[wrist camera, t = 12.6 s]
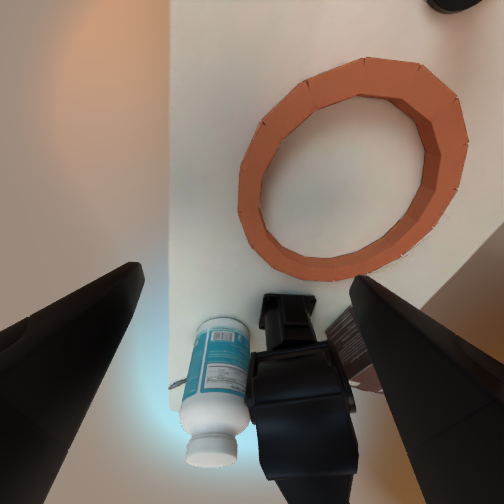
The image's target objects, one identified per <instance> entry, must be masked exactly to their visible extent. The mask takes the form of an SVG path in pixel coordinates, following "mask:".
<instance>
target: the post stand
mask: <svg viewBox="0 0 504 504" xmlns="http://www.w3.org/2000/svg"><path fill="white" fill-rule="evenodd" d="M427 1H428V3H429V4H430V5H431V6H432V7H433V8H434V9H435V10H436V11H438V12H441V13H445V14H453V13H458V12H461V11H464V10H466V9H468V8H470V7H472V6H474V5H476V4H478V3H479V2H481V1H482V0H427Z"/></svg>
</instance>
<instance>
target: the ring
mask: <svg viewBox="0 0 504 504" xmlns="http://www.w3.org/2000/svg"><path fill="white" fill-rule="evenodd" d="M354 96H360V97H369V98H378V99H387V100H389V101H390V102H392V103H393V104H394V105H395V106H397V107H398V108H399V109H400V110H402V111H403V112H404V113H406V114H407V115H408V116H409V117H411V118H412V119H413V120H414V121H415V122H416V125H417V128H418V131H419V134H420V137H421V140H422V142H423V145H424V148H425V151H426V154H425V162H424V169H423V177H422V184H421V186H420V188H419V190H418V192H417V194H416V196H415V198H414V200H413V201H412V203H411V205H410V207H409V209H408V211H407V213H406V215H405V216H404V217H403V218H402V219H401V220H400V221H399V222H398V223H397V224H396V225H395V226H394V227H393V228H392V229H391V230H390V231H389V232H388V233H387V234H386V235H385V236H384V237H383V238H381V239H379V240H377V241H376V242H374V243H372V244H370V245H369V246H367V247H365V248H363V249H362V250H360V251H358V252H355V253H351V254H347V255H343V256H339V257H335V258H331V259H328V258H312V257H304V256H302V255H300V254H297V253H295V252H293V251H291V250H288V249H286V248H284V247H282V246H281V245H280V244H279V243H278V241H277V240H276V239H275V238H274V237H273V236H272V235H271V234H270V233H269V232H268V230H267V229H266V227H265V223H264V220H263V217H262V214H261V211H260V208H259V203H260V194H261V185H262V177H263V175H264V173H265V171H266V169H267V167H268V166H269V164H270V162H271V160H272V158H273V156H274V154H275V152H276V151H277V149H278V147H279V145H280V143H281V141H282V140H283V139H284V138H285V137H286V136H287V135H289V134H290V133H291V132H292V131H293V130H294V129H295V128H297V127H298V126H299V125H300V124H301V123H302V122H303V121H304V120H306V119H307V118H308V117H309V116H310V115H311V114H312V113H313V112H315V111H316V110H318V109H321V108H324V107H327V106H330V105H332V104H335V103H338V102H341V101H343V100H346V99H349V98H352V97H354ZM456 97H457V95H456V94H455V93H454V92H452V91H451V90H450V89H449V88H448V87H447V86H446V85H445V84H444V83H443V82H441V81H440V80H439V79H438V78H437V77H436V76H435V75H434V74H433V73H431V72H430V71H429V70H428V69H427V68H426V67H425V66H424V65H420V64H419V63H413V62H404V61H396V60H388V59H379V58H371V57H366V58H361V59H358V60H356V61H353V62H350V63H348V64H345V65H343V66H340V67H337V68H335V69H332V70H330V71H327V72H325V73H322V74H319V75H317V76H314V77H312V78H309V79H307V80H304V81H303V82H302V83H299V84H298V85H297V86H296V87H295V88H294V89H293V90H292V91H291V92H290V93H289V94H288V95H287V96H286V97H285V98H284V99H283V100H282V101H281V102H279V103H278V104H277V105H276V106H275V107H274V108H273V109H272V110H271V111H270V112H269V113H268V114H267V115H266V116H265V117H264V118H263V119H262V121H263V123H262V122H260V124H259V126H258V128H257V130H256V132H255V134H254V136H253V139H252V141H251V143H250V145H249V147H248V149H247V152H246V154H245V156H244V158H243V160H242V162H241V166H240V172H239V192H238V216H239V218H240V221H241V223H242V226H243V229H244V231H245V234H246V236H247V239H248V242H249V244H250V245H251V247H252V248H253V249H254V250H255V251H256V252H257V253H258V254H259V255H260V256H261V257H262V258H263V259H264V260H265V261H266V262H267V263H268V264H269V265H270V266H271V267H273V268H274V269H276V270H278V271H281V272H283V273H286V274H288V275H291V276H293V277H296V278H298V279H300V280H301V279H302V280H314V281H332V282H333V280H334V281H339V280H343V279H347V278H352V277H356V276H357V275H365V274H367V272H368V273H371V272H372V271H374V270H376V269H378V268H380V267H382V266H384V265H386V264H388V263H390V262H392V261H394V260H395V259H397V258H399V257H401V254H402V255H404V254H405V253H406V252H407V251H408V250H409V249H411V248H412V247H413V246H414V245H415V244H416V243H417V242H418V241H419V240H421V239H422V238H423V237H424V236H425V235H426V234H427V233H428V232H429V231H431V230H432V229H433V228H432V227H435V225H436V224H437V222H438V221H439V219H440V217H441V216H442V214H443V213H444V211H445V209H446V208H447V206H448V205H449V203H450V202H451V200H452V198H453V197H454V195H455V194H456V192H457V191H458V190H457V189H456V188H458V187H459V184H460V179H461V175H462V171H463V166H464V162H465V158H466V153H467V149H468V144H467V143H468V142H469V140H468V136H467V131H466V127H465V123H464V119H463V114H462V110H461V106H460V102H459V98H456Z"/></svg>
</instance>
